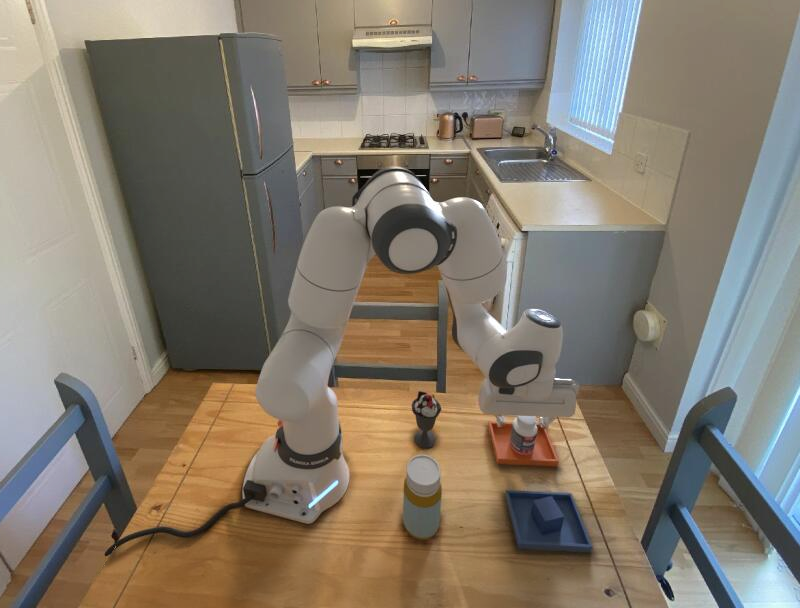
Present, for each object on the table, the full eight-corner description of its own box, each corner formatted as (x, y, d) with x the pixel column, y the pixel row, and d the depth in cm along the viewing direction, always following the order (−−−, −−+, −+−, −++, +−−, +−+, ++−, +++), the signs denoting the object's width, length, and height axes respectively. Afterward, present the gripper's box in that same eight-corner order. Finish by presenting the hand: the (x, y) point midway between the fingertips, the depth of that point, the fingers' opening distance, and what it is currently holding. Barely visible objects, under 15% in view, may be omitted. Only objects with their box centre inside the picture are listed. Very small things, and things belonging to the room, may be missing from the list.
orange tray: (497, 465, 93) (498, 458, 92) (487, 427, 102) (488, 421, 101) (557, 467, 92) (558, 461, 91) (542, 429, 101) (543, 423, 100)
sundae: (436, 454, 95) (439, 405, 89) (407, 446, 97) (409, 397, 91) (441, 431, 101) (444, 383, 95) (414, 424, 103) (415, 376, 97)
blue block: (542, 535, 79) (545, 521, 77) (530, 513, 82) (533, 500, 81) (561, 530, 79) (564, 516, 78) (548, 509, 83) (551, 495, 82)
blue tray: (517, 550, 77) (519, 543, 76) (504, 496, 86) (505, 489, 85) (590, 554, 76) (592, 547, 75) (569, 499, 85) (571, 492, 85)
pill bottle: (521, 459, 93) (526, 430, 90) (504, 441, 97) (509, 413, 94) (538, 449, 95) (544, 420, 92) (521, 432, 100) (526, 404, 96)
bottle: (438, 545, 78) (442, 491, 72) (400, 537, 79) (401, 483, 73) (439, 508, 84) (443, 455, 78) (405, 501, 86) (406, 449, 80)
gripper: (574, 369, 92) (563, 416, 97) (480, 366, 93) (474, 412, 98) (587, 391, 86) (574, 439, 91) (486, 387, 87) (479, 435, 92)
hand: (521, 425), depth 95 cm, fingers open, 8 cm apart
